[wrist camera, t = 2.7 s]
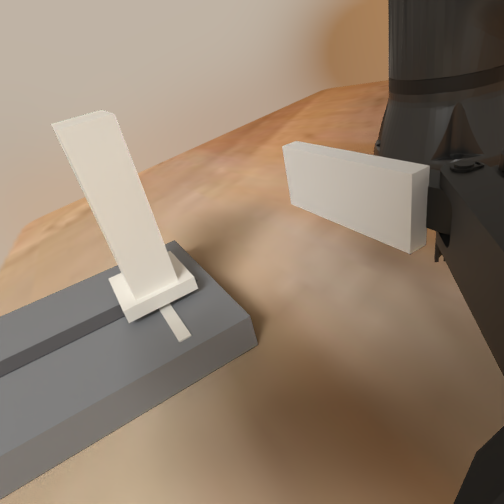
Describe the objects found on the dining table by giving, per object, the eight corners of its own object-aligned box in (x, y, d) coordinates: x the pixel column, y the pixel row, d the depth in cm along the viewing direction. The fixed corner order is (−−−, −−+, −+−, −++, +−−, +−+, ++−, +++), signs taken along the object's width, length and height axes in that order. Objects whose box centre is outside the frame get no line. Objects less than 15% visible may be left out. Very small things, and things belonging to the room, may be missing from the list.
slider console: (182, 262, 35) (174, 239, 33) (257, 344, 24) (249, 314, 22) (-118, 402, 26) (-145, 378, 25) (-217, 629, 15) (-275, 608, 14)
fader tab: (174, 261, 29) (115, 105, 23) (198, 288, 25) (134, 108, 19) (113, 289, 27) (32, 128, 21) (128, 323, 23) (35, 137, 17)
